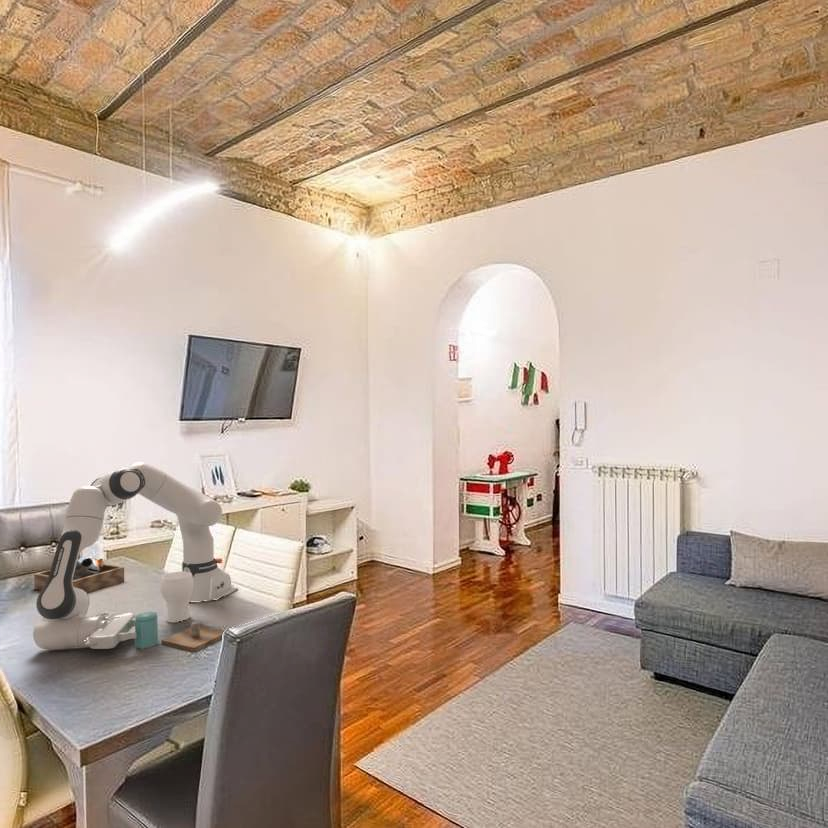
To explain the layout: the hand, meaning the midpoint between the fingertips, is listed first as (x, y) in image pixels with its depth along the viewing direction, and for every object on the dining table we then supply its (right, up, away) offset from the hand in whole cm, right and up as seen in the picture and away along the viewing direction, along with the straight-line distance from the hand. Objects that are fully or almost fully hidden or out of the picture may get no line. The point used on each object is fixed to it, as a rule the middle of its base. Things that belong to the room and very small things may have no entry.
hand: (141, 628), depth 182 cm
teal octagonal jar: (+2, -5, 0) cm, 5 cm away
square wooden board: (+15, -5, +3) cm, 16 cm away
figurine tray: (-54, -5, +63) cm, 83 cm away
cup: (+2, -5, +22) cm, 23 cm away
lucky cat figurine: (-55, -5, +65) cm, 86 cm away
